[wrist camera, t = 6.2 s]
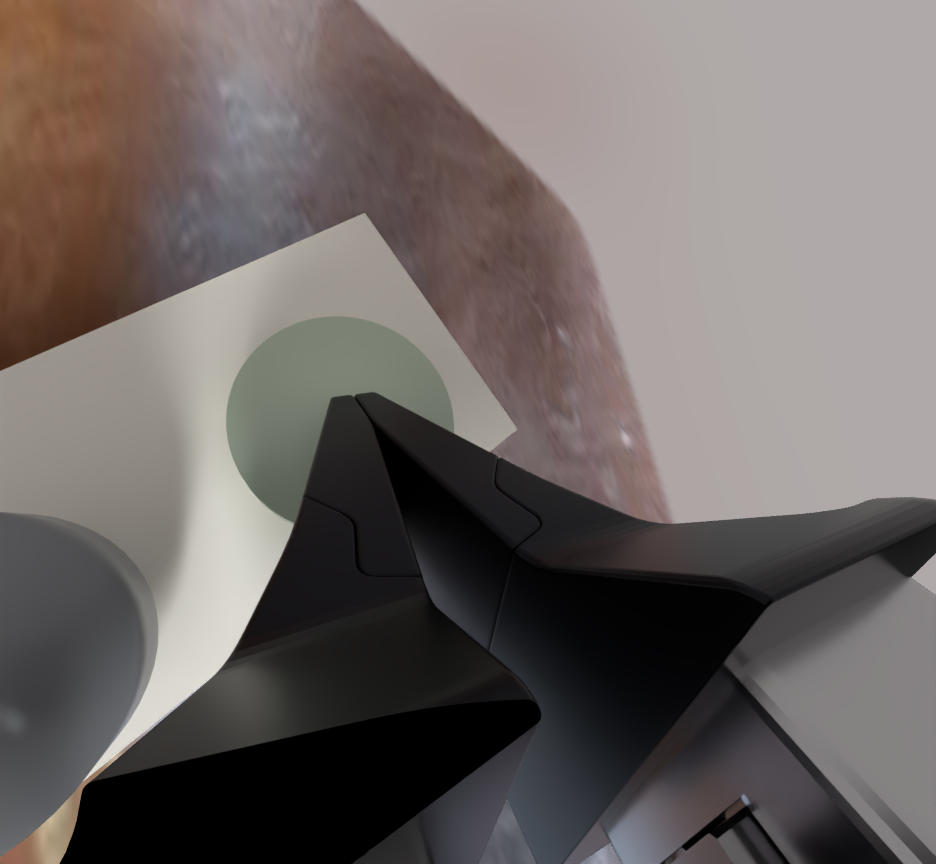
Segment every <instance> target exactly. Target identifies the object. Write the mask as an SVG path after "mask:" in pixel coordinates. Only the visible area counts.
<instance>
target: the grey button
mask: <svg viewBox="0 0 936 864" xmlns="http://www.w3.org/2000/svg"><path fill="white" fill-rule="evenodd" d="M157 648H158V619H157V610H156V607H155V603H154V599H153V596H152V593H151V591H150V588H149V586H148V584H147V582H146V580H145V578H144V576H143V575H142V573H141V572H140V570H139V569H138V567H137V566H136V564H135V563H134V562H133V561H132V560H131V559H130V558H129V557H128V556H127V555H126V554H125V552H124V551H122V550H121V549H120V548H119V547H117V546H116V545H115V544H114V543H112V542H111V541H110V540H108V539H107V538H105V537H103V536H102V535H100V534H98V533H96V532H95V531H93V530H91V529H88V528H86V527H83V526H81V525H78V524H76V523H73V522H70V521H66V520H62V519H59V518H55V517H49V516H42V515H36V514H24V513H9V512H0V857H1V856H2V855H4V854H5V853H6V852H8V851H9V850H11V849H12V848H13V847H15V846H16V845H17V844H19V843H20V842H21V841H23V840H24V839H25V838H27V837H28V836H29V835H30V834H32V833H33V832H34V831H35V830H36V829H37V828H38V827H39V826H41V825H42V824H43V823H44V822H45V821H46V820H47V819H48V818H49V817H51V816H52V815H53V814H54V813H55V812H56V811H57V810H58V809H59V808H60V807H61V805H62V804H63V803H64V802H65V801H66V800H67V799H68V798H69V797H70V796H71V795H72V794H73V792H74V791H75V790H76V789H77V788H78V787H79V785H80V784H81V783H82V781H83V780H84V779H85V778H86V776H87V775H88V774H89V772H90V771H91V770H92V769H93V767H94V766H95V765H96V763H97V762H98V761H99V760H100V758H101V757H102V756H103V754H104V753H105V752H106V751H107V749H108V748H109V747H110V746H111V744H112V743H113V742H114V740H115V739H116V738H117V736H118V735H119V734H120V732H121V731H122V730H123V728H124V727H125V726H126V725H127V723H128V722H129V720H130V718H131V717H132V715H133V714H134V712H135V710H136V709H137V707H138V705H139V704H140V701H141V699H142V697H143V695H144V693H145V691H146V688H147V686H148V684H149V681H150V678H151V674H152V671H153V668H154V665H155V659H156V654H157Z"/></svg>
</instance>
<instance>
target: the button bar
mask: <svg viewBox="0 0 936 864" xmlns="http://www.w3.org/2000/svg"><path fill="white" fill-rule="evenodd" d="M331 316H343V317H354V318H359V319H364V320H368V321H371V322H374V323H377V324H380V325H383V326H385V327H387V328H389V329H391V330H393V331H395V332H397V333H398V334H400V335H402V336H403V337H405V338H406V339H407V340H409V341H410V342H411V343H413V344H414V345H415V346H416V347H417V348H418V349H419V350H420V351H421V352H422V353H423V354H424V355H425V356H426V357H427V358H428V359H429V361H430V362H431V363H432V364H433V366H434V367H435V369H436V370H437V372H438V373H439V375H440V377H441V378H442V381H443V383H444V385H445V387H446V389H447V392H448V395H449V398H450V401H451V406H452V411H453V418H454V434H456V435H458V436H460V437H462V438H464V439H466V440H468V441H470V442H472V443H473V444H475V445H477V446H479V447H481V448H483V449H485V450H487V451H489V452H490V451H491V450H493V449H494V448H495V447H496V446H498V445H499V444H500V443H501V442H503V441H504V440H505V439H506V438H508V437H509V436H510V435H511V434H512V433H514V432H515V431H516V430H517V427H516V426H515V424H514V423H513V422H512V420H511V419H510V417H509V416H508V415H507V413H506V412H505V410H504V409H503V408H502V406H501V405H500V403H499V402H498V400H497V399H496V398H495V396H494V395H493V393H492V392H491V391H490V389H489V388H488V386H487V385H486V383H485V382H484V381H483V379H482V378H481V376H480V375H479V374H478V372H477V371H476V369H475V368H474V367H473V365H472V364H471V362H470V361H469V359H468V358H467V357H466V355H465V354H464V352H463V351H462V350H461V348H460V347H459V345H458V344H457V342H456V341H455V340H454V338H453V337H452V335H451V334H450V333H449V331H448V330H447V328H446V327H445V326H444V324H443V323H442V321H441V320H440V318H439V317H438V316H437V314H436V313H435V311H434V310H433V309H432V307H431V306H430V304H429V303H428V301H427V300H426V299H425V297H424V296H423V294H422V293H421V292H420V290H419V289H418V287H417V286H416V285H415V283H414V282H413V280H412V279H411V277H410V276H409V275H408V273H407V272H406V270H405V269H404V268H403V266H402V265H401V263H400V262H399V260H398V259H397V258H396V256H395V255H394V253H393V252H392V251H391V249H390V248H389V246H388V245H387V243H386V242H385V241H384V239H383V238H382V236H381V235H380V234H379V232H378V231H377V229H376V228H375V227H374V225H373V224H372V222H371V221H370V219H369V218H368V217H367V215H366V214H365V213H363V214H361V215H358V216H356V217H354V218H352V219H349V220H347V221H345V222H342V223H340V224H338V225H335V226H333V227H331V228H329V229H326V230H324V231H322V232H319V233H317V234H315V235H312V236H310V237H308V238H306V239H303V240H301V241H299V242H296V243H294V244H292V245H289V246H287V247H285V248H282V249H280V250H278V251H276V252H273V253H271V254H269V255H266V256H264V257H262V258H259V259H257V260H255V261H253V262H250V263H248V264H246V265H243V266H241V267H239V268H236V269H234V270H232V271H230V272H227V273H225V274H223V275H220V276H218V277H216V278H213V279H211V280H209V281H206V282H204V283H202V284H200V285H197V286H195V287H193V288H190V289H188V290H186V291H183V292H181V293H179V294H177V295H174V296H172V297H170V298H167V299H165V300H163V301H160V302H158V303H156V304H153V305H151V306H149V307H147V308H144V309H142V310H140V311H137V312H135V313H133V314H130V315H128V316H126V317H124V318H121V319H119V320H117V321H114V322H112V323H110V324H107V325H105V326H103V327H101V328H98V329H96V330H94V331H91V332H89V333H87V334H84V335H82V336H80V337H77V338H75V339H73V340H71V341H68V342H66V343H64V344H61V345H59V346H57V347H54V348H52V349H50V350H48V351H45V352H43V353H41V354H38V355H36V356H34V357H31V358H29V359H27V360H25V361H22V362H20V363H18V364H15V365H13V366H11V367H8V368H6V369H4V370H1V371H0V512H9V513H24V514H36V515H42V516H49V517H55V518H59V519H62V520H66V521H70V522H73V523H76V524H78V525H81V526H83V527H86V528H88V529H91V530H93V531H95V532H96V533H98V534H100V535H102V536H103V537H105V538H107V539H108V540H110V541H111V542H112V543H114V544H115V545H116V546H117V547H119V548H120V549H121V550H122V551H124V552H125V554H126V555H127V556H128V557H129V558H130V559H131V560H132V561H133V562H134V563H135V564H136V566H137V567H138V569H139V570H140V572H141V573H142V575H143V576H144V578H145V580H146V582H147V584H148V586H149V588H150V591H151V593H152V596H153V599H154V603H155V607H156V610H157V619H158V648H157V654H156V659H155V665H154V668H153V671H152V674H151V678H150V681H149V684H148V686H147V688H146V691H145V693H144V695H143V697H142V699H141V701H140V704H139V705H138V707H137V709H136V710H135V712H134V714H133V715H132V717H131V718H130V720H129V722H128V723H127V725H126V726H125V727H124V728H123V730H122V731H121V732H120V734H119V735H118V736H117V738H116V739H115V740H114V742H113V743H112V744H111V746H110V747H109V748H108V749H107V751H106V752H105V753H104V754H103V756H102V757H101V758H100V760H99V761H98V762H97V763H96V765H95V766H94V767H93V769H92V770H91V771H90V772H89V774H88V775H87V776H86V778H85V779H87V778H88V777H89V776H90V775H92V774H93V773H94V772H95V771H96V770H98V769H99V768H100V767H101V766H103V765H104V764H105V763H106V762H108V761H109V760H110V759H111V758H113V757H114V756H115V755H116V754H117V753H119V752H120V751H121V750H122V749H124V748H125V747H126V746H127V745H129V744H130V743H131V742H132V741H134V740H135V739H136V738H137V737H138V736H140V735H141V734H142V733H143V732H145V731H146V730H147V729H148V728H150V727H151V726H152V725H153V724H154V723H156V722H157V721H158V720H159V719H161V718H162V717H163V716H164V715H166V714H167V713H168V712H169V711H171V710H172V709H173V708H174V707H175V706H177V705H178V704H179V703H180V702H182V701H183V700H184V699H185V698H187V697H188V696H189V695H190V694H192V693H193V692H194V691H195V690H196V689H198V688H199V687H200V686H201V685H203V684H204V683H205V682H206V681H208V680H209V679H210V678H211V677H213V676H214V675H215V674H216V673H217V672H218V671H219V669H220V668H221V667H222V666H223V665H224V663H225V662H226V660H227V659H228V658H229V656H230V655H231V653H232V652H233V650H234V648H235V647H236V645H237V643H238V641H239V639H240V638H241V636H242V634H243V632H244V630H245V628H246V626H247V624H248V622H249V620H250V618H251V616H252V614H253V612H254V610H255V608H256V606H257V604H258V602H259V600H260V598H261V596H262V594H263V592H264V590H265V588H266V586H267V584H268V582H269V580H270V578H271V576H272V574H273V572H274V570H275V567H276V565H277V563H278V561H279V559H280V557H281V555H282V552H283V550H284V548H285V546H286V543H287V541H288V539H289V537H290V534H291V531H292V528H293V525H294V524H291V523H289V522H287V521H285V520H283V519H282V518H280V517H279V516H277V515H276V514H274V513H272V512H271V511H270V510H269V509H268V508H267V507H265V506H264V505H263V504H262V503H261V502H260V501H259V500H258V498H257V497H256V496H255V495H254V494H253V493H252V491H251V490H250V488H249V487H248V485H247V484H246V482H245V481H244V479H243V478H242V476H241V475H240V473H239V471H238V469H237V467H236V465H235V462H234V460H233V458H232V454H231V451H230V448H229V444H228V438H227V431H226V411H227V405H228V399H229V395H230V392H231V389H232V385H233V382H234V380H235V378H236V376H237V374H238V372H239V370H240V369H241V367H242V366H243V364H244V363H245V361H246V360H247V359H248V357H249V356H250V355H251V354H252V353H253V352H254V351H255V349H256V348H257V347H258V346H259V345H261V344H262V343H263V342H264V341H266V340H267V339H268V338H269V337H270V336H272V335H274V334H275V333H277V332H279V331H280V330H282V329H284V328H286V327H289V326H291V325H293V324H295V323H298V322H302V321H305V320H309V319H314V318H320V317H331ZM85 779H84V780H85ZM84 780H83V781H84ZM83 781H82V782H83Z"/></svg>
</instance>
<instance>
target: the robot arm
mask: <svg viewBox="0 0 936 864" xmlns="http://www.w3.org/2000/svg"><path fill="white" fill-rule="evenodd" d="M935 553H936V500H934V499H926V498H914V497H910V498H909V497H904V498H903V497H901V498H877V499H872V500H868V501H865V502H863V503H860V504H857V505H855V506H851V507H848V508H842V509H837V510H830V511H823V512H816V513H806V514H797V515H783V516H771V517H757V518H746V519H732V520H719V521H707V522H693V523H680V524H664V523H655V522H649V521H645V520H641V519H637V518H634V517H632V516H629V515H627V514H624V513H622V512H619V511H617V510H615V509H612V508H610V507H608V506H605V505H603V504H600V503H598V502H596V501H593V500H591V499H589V498H586V497H584V496H582V495H579V494H577V493H574V492H572V491H570V490H567V489H565V488H563V487H560V486H558V485H556V484H554V483H551V482H549V481H547V480H545V479H542V478H540V477H538V476H536V475H534V474H532V473H530V472H528V471H526V470H524V469H522V468H520V467H518V466H516V465H514V464H512V463H510V462H508V461H506V460H504V459H502V458H499V459H498V456H496V455H494V454H493V453H491V452H489V451H487V450H485V449H483V448H481V447H479V446H477V445H475V444H473V443H472V442H470V441H468V440H466V439H464V438H462V437H460V436H458V435H456V434H454V433H452V432H451V431H449V430H447V429H445V428H443V427H441V426H439V425H437V424H435V423H433V422H431V421H429V420H428V419H426V418H424V417H422V416H420V415H418V414H416V413H414V412H412V411H410V410H408V409H407V408H405V407H403V406H401V405H399V404H397V403H395V402H393V401H391V400H389V399H387V398H386V397H384V396H382V395H380V394H378V393H376V392H368V393H360V394H356V395H354V397H353V396H352V395H344V396H335V397H332V398H331V399H330V402H329V405H328V409H327V412H326V416H325V419H324V423H323V427H322V430H321V434H320V437H319V441H318V444H317V448H316V451H315V455H314V458H313V462H312V465H311V469H310V472H309V476H308V479H307V483H306V486H305V490H304V493H303V497H302V500H301V503H300V506H299V510H298V513H297V516H296V519H295V522H294V525H293V528H292V531H291V534H290V537H289V539H288V541H287V543H286V546H285V548H284V550H283V552H282V555H281V557H280V559H279V561H278V563H277V565H276V567H275V570H274V572H273V574H272V576H271V578H270V580H269V582H268V584H267V586H266V588H265V590H264V592H263V594H262V596H261V598H260V600H259V602H258V604H257V606H256V608H255V610H254V612H253V614H252V616H251V618H250V620H249V622H248V624H247V626H246V628H245V630H244V632H243V634H242V636H241V638H240V639H239V641H238V643H237V645H236V647H235V648H234V650H233V652H232V653H231V655H230V656H229V658H228V659H227V660H226V662H225V663H224V665H223V666H222V667H221V668H220V669H219V671H218V672H217V673H216V674H215V675H214V676H213V677H212V678H211V679H210V680H209V681H208V682H206V683H205V684H204V685H203V686H202V687H201V688H199V689H198V690H197V691H196V692H195V693H194V694H192V695H191V696H190V697H189V698H188V699H187V700H185V701H184V702H183V703H182V704H181V705H180V706H178V707H177V708H176V709H175V710H174V711H173V712H171V713H170V714H169V715H168V716H167V717H166V718H164V719H163V720H162V721H161V722H160V723H159V724H157V725H156V726H155V727H154V728H153V729H152V730H150V731H149V732H148V733H147V734H146V735H145V736H143V737H142V738H141V739H140V740H139V741H138V742H136V743H135V744H134V745H133V746H132V747H131V748H130V749H128V750H127V751H126V752H125V753H124V754H123V755H121V756H120V757H119V758H118V759H117V760H116V761H114V762H113V763H112V764H111V765H110V766H109V767H107V768H106V769H105V770H104V771H103V772H102V773H100V774H99V775H98V776H97V777H96V778H94V779H93V780H92V781H91V782H89V783H88V784H87V785H86V786H85V787H84V788H83V790H82V795H81V800H80V806H79V811H78V817H77V821H76V825H75V828H74V832H73V834H72V837H71V840H70V842H69V845H68V848H67V850H66V853H65V855H64V856H63V858H62V860H61V862H60V864H478V863H479V861H480V859H481V856H482V854H483V852H484V849H485V847H486V845H487V842H488V840H489V838H490V835H491V833H492V831H493V828H494V826H495V824H496V821H497V819H498V817H499V815H500V812H501V810H502V808H503V805H504V803H505V801H506V798H507V799H508V801H509V803H510V806H511V808H512V810H513V812H514V814H515V817H516V819H517V821H518V823H519V825H520V828H521V830H522V832H523V834H524V836H525V839H526V841H527V843H528V845H529V848H530V850H531V852H532V854H533V856H534V859H535V861H536V863H537V864H579V863H580V862H582V861H583V860H585V859H586V858H588V857H589V856H591V855H592V854H594V853H595V852H597V851H598V850H600V849H601V848H603V847H604V846H606V845H607V844H609V843H611V845H612V847H613V849H614V850H615V852H616V854H617V856H618V858H619V860H620V862H621V864H936V595H935V594H934V593H932V592H931V591H930V590H928V589H927V588H925V587H924V586H922V585H921V584H920V583H918V582H917V581H915V580H914V579H912V578H911V577H912V576H913V575H914V574H915V573H916V572H917V571H918V570H919V569H920V568H921V567H922V566H923V565H924V564H925V563H926V562H927V561H928V560H929V559H930V558H931V557H932V556H933V555H934V554H935Z"/></svg>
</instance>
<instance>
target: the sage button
mask: <svg viewBox="0 0 936 864" xmlns="http://www.w3.org/2000/svg"><path fill="white" fill-rule="evenodd" d="M368 392H376V393H378V394H380V395H382V396H384V397H386V398H387V399H389V400H391V401H393V402H395V403H397V404H399V405H401V406H403V407H405V408H407V409H408V410H410V411H412V412H414V413H416V414H418V415H420V416H422V417H424V418H426V419H428V420H429V421H431V422H433V423H435V424H437V425H439V426H441V427H443V428H445V429H447V430H449V431H451V432H452V433H454V418H453V411H452V406H451V401H450V398H449V395H448V392H447V389H446V387H445V385H444V383H443V381H442V378H441V377H440V375H439V373H438V372H437V370H436V369H435V367H434V366H433V364H432V363H431V362H430V361H429V359H428V358H427V357H426V356H425V355H424V354H423V353H422V352H421V351H420V350H419V349H418V348H417V347H416V346H415V345H414V344H413V343H411V342H410V341H409V340H407V339H406V338H405V337H403V336H402V335H400V334H398V333H397V332H395V331H393V330H391V329H389V328H387V327H385V326H383V325H380V324H377V323H374V322H371V321H368V320H364V319H359V318H354V317H343V316H331V317H320V318H314V319H309V320H305V321H302V322H298V323H295V324H293V325H291V326H289V327H286V328H284V329H282V330H280V331H279V332H277V333H275V334H274V335H272V336H270V337H269V338H268V339H267V340H266V341H264V342H263V343H262V344H261V345H259V346H258V347H257V348H256V349H255V351H254V352H253V353H252V354H251V355H250V356H249V357H248V359H247V360H246V361H245V363H244V364H243V366H242V367H241V369H240V370H239V372H238V374H237V376H236V378H235V380H234V382H233V385H232V389H231V392H230V395H229V399H228V405H227V411H226V431H227V438H228V444H229V448H230V451H231V454H232V458H233V460H234V462H235V465H236V467H237V469H238V471H239V473H240V475H241V476H242V478H243V479H244V481H245V482H246V484H247V485H248V487H249V488H250V490H251V491H252V493H253V494H254V495H255V496H256V497H257V498H258V500H259V501H260V502H261V503H262V504H263V505H264V506H265V507H267V508H268V509H269V510H270V511H271V512H272V513H274V514H276V515H277V516H279V517H280V518H282V519H283V520H285V521H287V522H289V523H291V524H294V522H295V519H296V516H297V513H298V510H299V506H300V503H301V500H302V497H303V493H304V490H305V486H306V483H307V479H308V476H309V472H310V469H311V465H312V462H313V458H314V455H315V451H316V448H317V444H318V441H319V437H320V434H321V430H322V427H323V423H324V419H325V416H326V412H327V409H328V405H329V402H330V399H331V398H332V397H335V396H344V395H352V396H353V397H354V395H356V394H360V393H368Z"/></svg>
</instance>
